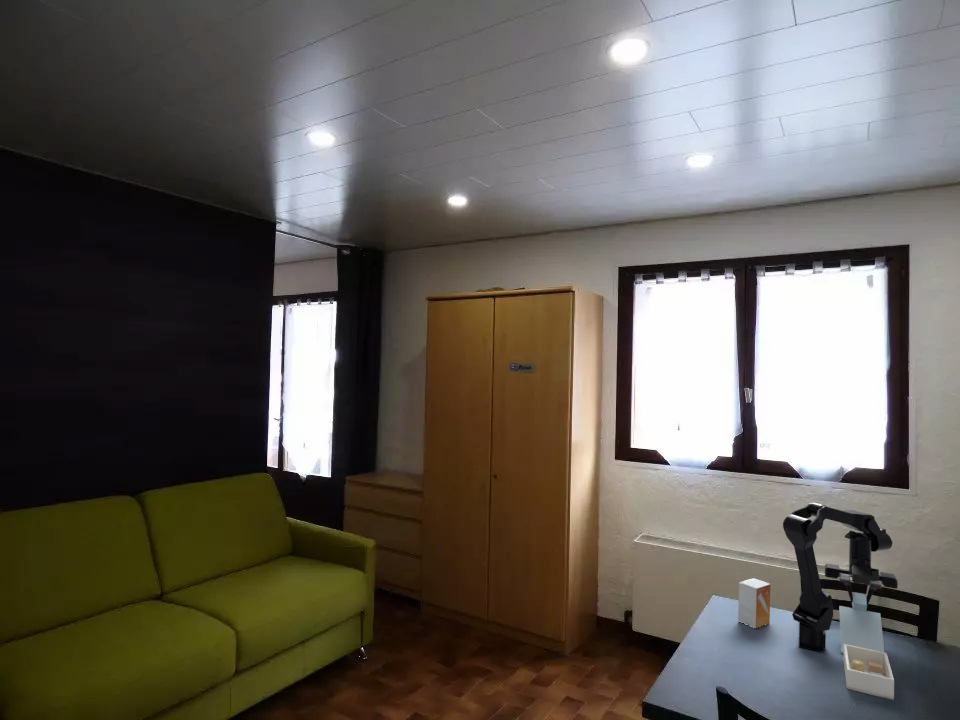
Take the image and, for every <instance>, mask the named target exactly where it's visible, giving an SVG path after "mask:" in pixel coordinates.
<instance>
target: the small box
mask: <svg viewBox="0 0 960 720" xmlns="http://www.w3.org/2000/svg"><path fill="white" fill-rule="evenodd" d="M771 586H772V585H771V583H769V582H766V581H763V580H760V579H757V578H754V577H752V578H749V579H745V580H743V581H739V582H738V606H737V607H738V608H737V609H738V612H737V613H738V614H737V621H738V620H739V621H741V622H743V623H745V624H748V625H750V626H752V627H754V628H757V629H759V628H762V627H764V626H763V625H765V624H767V625H769V624H771V623H770V622H771V621H770V620H771V618H770V617H771V616H770V615H771V614H770V613H771ZM761 626H762V627H761ZM765 626H766V625H765ZM758 627H759V628H758ZM754 628H753V629H754Z"/></svg>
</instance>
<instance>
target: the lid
mask: <svg viewBox="0 0 960 720" xmlns="http://www.w3.org/2000/svg"><path fill="white" fill-rule="evenodd" d="M852 595H853V602H851V605H852V607H849V606H843V605H839V606H838V607H839V610H838V611H839V612H838V613H839V629H840V630H839V631H840V633H839V634H840V653H841V654H843V655H844V644H846V645H851V646H856V647H861V648H865V649H870V650H875V651H879V652H884V653H885V647H884V645H885V644H884V637H883V628H882V626H883V625H882V619H881V613H880V612H875V611H869V610H867V608H868V605H867V600H866V594H863V593H858V592H852Z"/></svg>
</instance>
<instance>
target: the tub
mask: <svg viewBox="0 0 960 720" xmlns="http://www.w3.org/2000/svg"><path fill="white" fill-rule="evenodd" d="M843 668H844V669H843V670H844V677H845V685H846V690H850V691H856V692H859V693H863V694H866V695H867V694H868V695H870V696H876V697H878V698H879V697H880V698H884V699H887V700H891V701H894V700H895V678H894V676H893V675H894V674H893V672H892V667H891V665H890V661H889V657H888V653H887V652H885V651H884V652H879V651H875V650H870V649H865V648H861V647H856V646H851V645H846V644H844V654H843Z"/></svg>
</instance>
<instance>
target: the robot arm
mask: <svg viewBox="0 0 960 720" xmlns="http://www.w3.org/2000/svg"><path fill="white" fill-rule="evenodd" d="M811 517H814V519H813V520H811V519H810V518H811ZM825 520H828V521H833V522H837V523H841V524H842V525H843V526H845V527H847V528H849V529H852V530H849V531H848V532H847V533H845V535H844V538H845V539H849V540H848V541H849V545H848V546H849V547H848V549H849V550H848V553H849V554H848V569H843V568H840V565H838V564H832V563H825V564H824V577H825V578H830V579H836V580H837V579H839V582H841V583H843V584H844V586H845V588H846V590H847V594H848V596H849V599H850V602H851V603H852V602H853V588H852V582H853V583H854V584H861V585H865V586H867V587H866V594H865V595H866V600H867V606H869V603H870V601H871V598H872V596H873V595H874V594H875V593H874V592H876V590H877V589H882V586H883V587H884V588H888V589H889V588H890V589H895V590H896V589H898V579H897V576H896V575H895V574H894V573H890V572H889V573H888V572H884V571H880V570H879V568H872V553H874V552H882V551H889V550H890V549H891V548H892V546H893V541H892V538H891V536H890V535H889V534H888V533H887V529H885V528H883V527H880V526H879V524H878V522H877V521H876V519H875V516H874V515H872V514H870V513H865V512H862V511H857V510H853V509H846V510H840V509H837V508H833V507H829V506H827V505H826V504H825V505H824V504H820V503H817V502H809V503H808V504H806V506H804V507H801V508H798V509H795V510H793V511H792V512H791V513H789V515H787V516H786V517H785V518H784V520H783V522H782V528H783V531H784V534H785V537H786V538H787V539H788V541H789V542H790V543H791V544H792V546H793V547H794V553H795V557H796V564H797V567H798V571H799V577H800V581H801V586H802V592H801V594H800V596H799V604H798V605H797V607H795V609H794V611H792V612H793V613H792V619H793V620H794V621H796V622H797V623H799V625H798V640H797V641H798V643H797V644H798V647H799V648H802V649H807V650H811V651H815V652H820V653H824V652H825V651H824V650H825V649H826V644H827V641H826V639H827V637H826V636H827V634H826V631H829V630H830V629H831V625H832V621H833V618H834V609H835V606H834V605H833V598H832V595H830V594H828V593H826V592H824V591H823V589H822V584H821V579H820V574H819V570H818V566H817V561H816V556H815V551H814V544H815V542H816V541H817V539H818V536H817V535H818V534H817V533H818V532H819V531H821V530H822V529H823V528H824V527H823V526H824V521H825ZM851 581H852V582H851Z"/></svg>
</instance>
